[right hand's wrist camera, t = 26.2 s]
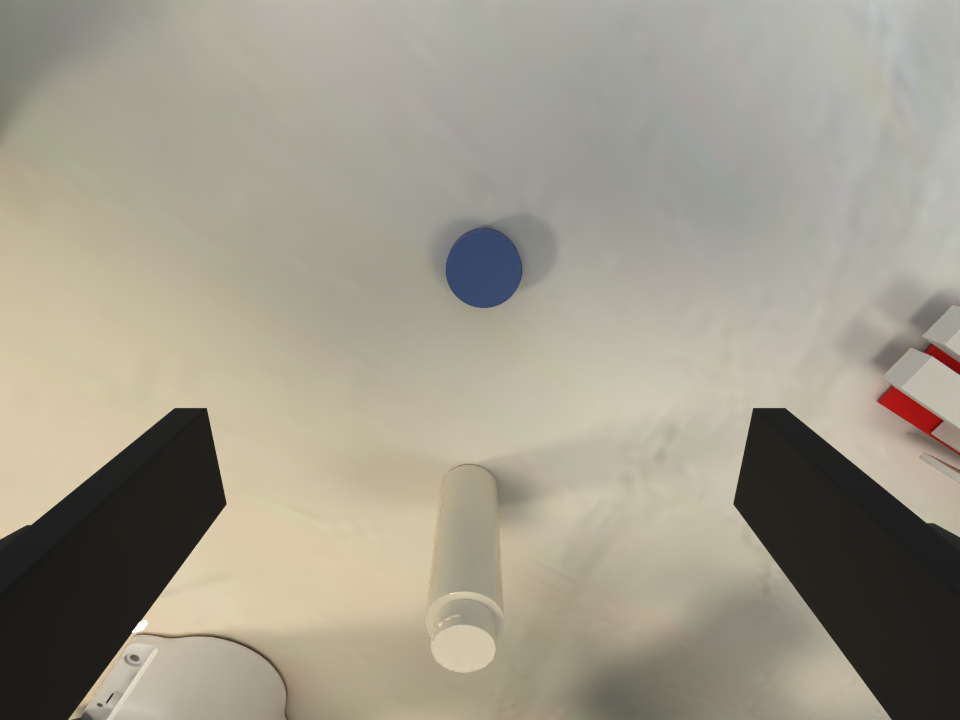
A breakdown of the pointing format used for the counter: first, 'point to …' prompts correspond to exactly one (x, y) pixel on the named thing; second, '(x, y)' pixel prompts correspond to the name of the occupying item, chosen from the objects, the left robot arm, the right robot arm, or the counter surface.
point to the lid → (483, 268)
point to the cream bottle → (466, 572)
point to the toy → (931, 388)
